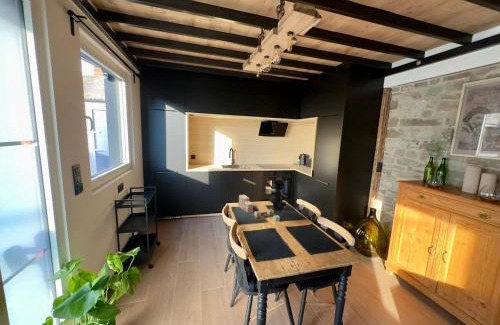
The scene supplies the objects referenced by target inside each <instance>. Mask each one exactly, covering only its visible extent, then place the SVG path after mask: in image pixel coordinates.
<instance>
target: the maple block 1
mask: <svg viewBox="0 0 500 325" xmlns="http://www.w3.org/2000/svg"><path fill="white" fill-rule="evenodd" d="M261 213H262V211H260V210H257V211H256V210H255V211H253V214H254V215H255V216H256V217H259V216H261Z"/></svg>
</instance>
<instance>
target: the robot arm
mask: <svg viewBox="0 0 500 325" xmlns="http://www.w3.org/2000/svg"><path fill="white" fill-rule="evenodd" d="M285 174H286V173H285V172H284V171H283V170H282V171H281V170H278V171H277V172H276V173H275V177H276V179H275V180H274V185H273V186H274V189H275V190H274V193H273V195H272V196H269V197H268V201H269V203H271V204H272V207H273V211H274V212H275V211H277V212H279V213H281V212H282V210H283V209H284V207H286V206H287V202H286V201H284V200H283V194H282V192H283V189H284V187H285V182H284V178H285Z"/></svg>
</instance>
